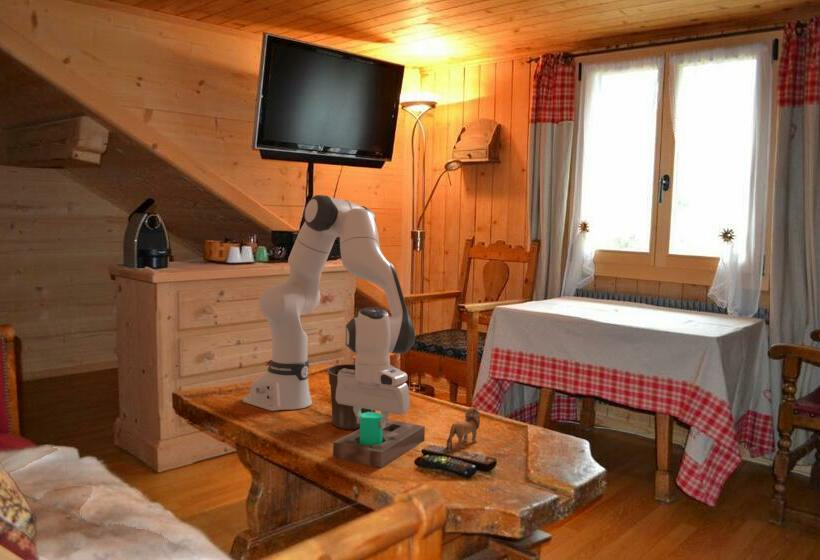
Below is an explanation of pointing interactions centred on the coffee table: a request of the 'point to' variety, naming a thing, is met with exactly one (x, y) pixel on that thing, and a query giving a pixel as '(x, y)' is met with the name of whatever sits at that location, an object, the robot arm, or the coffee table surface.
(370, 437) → the candle
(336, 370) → the plant pot
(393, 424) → the socket block
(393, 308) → the robot arm
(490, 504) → the coffee table surface
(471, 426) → the lion figurine
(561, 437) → the coffee table surface
